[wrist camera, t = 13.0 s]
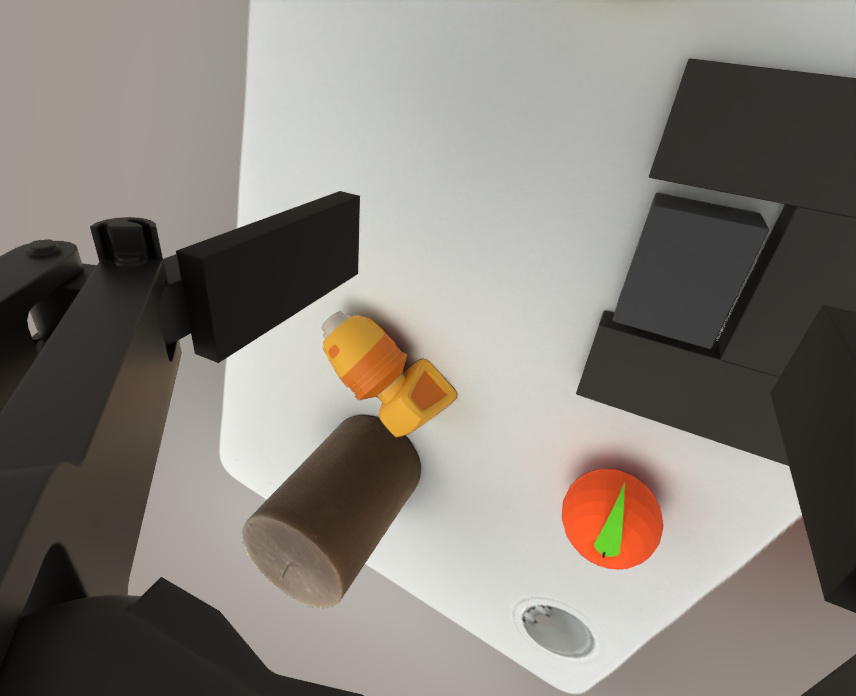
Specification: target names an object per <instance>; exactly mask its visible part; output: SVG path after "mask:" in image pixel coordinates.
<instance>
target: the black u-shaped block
mask: <svg viewBox="0 0 856 696" xmlns="http://www.w3.org/2000/svg"><path fill="white" fill-rule="evenodd" d="M649 178H653V179H659V180H664V181H669V182H674V183H679V184H685V185H690V186H695V187H700V188H705V189H710V190H716V191H721V192H726V193H731V194H736V195H741V196H747V197H752V198H757V199H762V200H767V201H773V202H778V203H783V204H785V206H784V208H783V210H782V212H781V214H780V216H779V218H778V221H777V223H776V225H775V227H774V229H773V231H772V233H771V235H770V237H769V239H768V241H767V243H766V245H765V247H764V249H763V251H762V253H761V255H760V257H759V259H758V261H757V263H756V265H755V267H754V269H753V271H752V273H751V275H750V277H749V279H748V282H747V284H746V286H745V288H744V290H743V292H742V294H741V296H740V298H739V300H738V302H737V304H736V306H735V308H734V310H733V312H732V314H731V316H730V318H729V320H728V322H727V324H726V326H725V328H724V330H723V332H722V334H721V336H720V338H719V340H718V342H716V341H715V342H714V344H713V346H712V348H711V349H709V348H705V347H702V346H698V345H695V344H691V343H688V342H684V341H681V340H677V339H674V338H670V337H667V336H663V335H660V334H656V333H653V332H649V331H646V330H642V329H638V328H635V327H631V326H628V325H624V324H621V323H617V322H614V321H613V316H614V313H612V312H608V311H604V312H603V315H602V318H601V321H600V324H599V327H598V330H597V333H596V336H595V339H594V342H593V345H592V348H591V351H590V354H589V356H588V359H587V362H586V365H585V368H584V371H583V374H582V377H581V380H580V383H579V386H578V389H577V392H576V394H577V395H580V396H583V397H586V398H589V399H591V400H594V401H597V402H600V403H603V404H606V405H609V406H612V407H615V408H618V409H621V410H624V411H627V412H630V413H633V414H636V415H639V416H642V417H645V418H648V419H651V420H654V421H657V422H660V423H663V424H666V425H669V426H672V427H675V428H678V429H681V430H684V431H687V432H690V433H693V434H695V435H698V436H701V437H704V438H707V439H710V440H713V441H716V442H719V443H722V444H725V445H728V446H731V447H734V448H737V449H740V450H743V451H746V452H749V453H752V454H755V455H758V456H761V457H764V458H767V459H770V460H773V461H776V462H779V463H782V464H785V465H788V466H789V463H788V459H787V456H786V452H785V448H784V444H783V440H782V437H781V433H780V429H779V425H778V422H777V418H776V414H775V410H774V406H773V403H772V399H771V395H770V393H771V391H772V389H773V388H774V386H775V384H776V382H777V381H778V379H779V377H780V376H781V374H782V372H783V371H784V369H785V367H786V366H787V364H788V362H789V360H790V359H791V357H792V355H793V354H794V352H795V350H796V349H797V347H798V345H799V344H800V342H801V340H802V338H803V337H804V335H805V333H806V332H807V330H808V328H809V327H810V325H811V323H812V322H813V320H814V318H815V316H816V315H817V313H818V311H819V310H820V308H821V306H822V305H827V306H832V307H836V308H840V309H844V310H849V311H853V312H856V78H849V77H840V76H832V75H823V74H815V73H807V72H798V71H790V70H782V69H773V68H765V67H756V66H748V65H740V64H731V63H723V62H715V61H706V60H698V59H688V62H687V65H686V68H685V71H684V74H683V77H682V80H681V83H680V86H679V89H678V92H677V95H676V98H675V101H674V104H673V106H672V109H671V112H670V115H669V118H668V121H667V124H666V127H665V130H664V133H663V136H662V139H661V142H660V145H659V148H658V151H657V154H656V157H655V160H654V163H653V166H652V169H651V172H650V175H649Z"/></svg>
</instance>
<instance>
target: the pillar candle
mask: <svg viewBox="0 0 856 696" xmlns="http://www.w3.org/2000/svg"><path fill="white" fill-rule="evenodd" d="M420 470H421V465H420V462H419V458H418V455H417V452H416V451H415V450H414V447H413V446H412V444H411V443H410V442H409V440H408V439H407V438H406V437H404V436H399V437H395V436H394V435H393V434H392V433H391V432H390V431H389V430H388V428H387V427H386V426H385V425H384V424H383V422H382V421H381V420H380V419H378V418H375V417H371V416H365V415H358V416H353V417H350V418H348V419H346V420H345V421H343V422H342V423H341V424H340V425H339V426H338V427H337V428H336V429H335V430H334V431H333V433H332V434H331V435H330V436H329V437H328V438H327V439H326V440H325V441H324V442H323V443H322V444H321V445H320V446H319V447H318V448H317V449H316V450H315V451H314V452H313V453H312V454H311V455H310V456H309V457H308V458H307V459H306V460H305V461H304V462H303V463H302V464H301V466H300V467H299V468H298V469H297V470H296V471H295V472H294V473H293V474H292V475H291V476H290V477H289V478H288V479H287V480H286V481H285V482H284V483H283V484H282V485H281V486H280V487H279V488H278V489H277V490H276V491H275V492H274V493H273V494H272V495H271V496H270V497H269V498H268V499H267V500H266V501H265V503H264V504H263V505H262V506H261V507H260V508H259V509H258V510H257V511H256V512H255V513H254V514H253V515H252V516H251V517H250V518H249V519H248V520H247V522H246V523H245V524H244V527H243V531H242V535H243V545H244V547H245V548H246V552H247V554H248V556H249V557H250V558H251V560H252V561H254V563H255V564H256V565H257V567H258V568H259V570H260V571H261V573H263V574H264V575H265V576H266V578H267V579H268V580H269V581H270V582H272V583H273V584H274V585H275V586H277V587H278V588H280V589H281V590H282V591H283V592H284V593H286V594H287V595H289V596H290V597H292V598H294V599H296V600H298V601H299V602H301V603H303V604H304V605H306V606H308V607H313V608H314V607H318V608H320V607H321V608H328V607H333V606H335V605H337V604H338V603H339V602H340V601H341V599H342V598H343V596H344V594H345V593H346V591H347V590H348V589H349V587H350V585H351V584H352V582H353V581H354V579H355V578H356V576H357V575H358V573H359V572H360V570H361V569H362V567H363V566H364V564H365V563H366V561H367V560H368V558H369V557H370V555H371V554H372V552H373V551H374V549H375V548H376V546H377V545H378V543H379V542H380V540H381V538H382V537H383V536H384V534H385V533H386V531H387V530H388V528H389V526H390V525H391V524H392V522H393V521H394V519H395V518H396V516H397V515H398V513H399V512H400V510H401V508H402V507H403V505H404V504H405V502H406V501H407V500H408V498H409V497H410V495H411V494H412V493H413V491H414V490H415V488H416V486H417V484H418V481H419V478H420V472H421V471H420Z"/></svg>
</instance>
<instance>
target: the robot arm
mask: <svg viewBox="0 0 856 696" xmlns="http://www.w3.org/2000/svg"><path fill="white" fill-rule="evenodd" d="M359 214H360V196H358V195H354V194H350V193H346V192H341V191H339V192H336V193H333V194H331V195H328V196H325V197H322V198H320V199H317V200H314V201H311V202H309V203H306V204H303V205H300V206H298V207H295V208H292V209H289V210H287V211H284V212H281V213H278V214H276V215H273V216H270V217H268V218H265V219H262V220H259V221H257V222H254V223H251V224H248V225H246V226H243V227H240V228H237V229H235V230H232V231H229V232H227V233H224V234H221V235H218V236H215V237H213V238H210V239H207V240H204V241H202V242H199V243H196V244H193V245H191V246H188V247H185V248H182V249H180V250H177V251H176V255H173V256H170V257H167V258H165V259H163V258H162V253H161V248H160V243H159V238H158V233H157V228H156V223H154V222H153V221H151V220H148V219H143V218H131V217H127V218H114V219H108V220H103V221H100V222H97V223H95V224H93V225H92V226H90V229H91V233H92V236H93V240H94V243H95V247H96V251H97V254H98V258H99V263H98V265H90V264H82V262H81V259H80V256H79V253H78V249H77V246H76V245H75V244H72V243H70V242H64V241H52V240H38V241H33V242H32V243H29V244H26V245H22V246H20V247H17V248H15V249H13V250H11V251H9V252H7V253H6V254H4V255H2V256H0V696H363V695H362V694H357V693H353V692H349V691H344V690H340V689H336V688H332V687H328V686H324V685H319V684H315V683H311V682H307V681H302V680H298V679H294V678H290V677H285V676H281V675H278V674H275V673H274V672H271V670H269V669H268V668H267V667H266V666H265V665H264V664H263V662H262V661H261V660H260V659H259V657H258V656H257V655H256V654H255V653H254V651H253V650H252V649H251V648H250V647H249V645H248V644H247V643H246V642H245V641H244V640H243V638H242V637H241V636H240V635H239V634H238V633H237V631H236V630H235V629H234V628H233V626H232V625H231V624H230V623H229V622H228V620H227V619H226V618H225V617H224V616H223V614H222V613H221V612H220V611H219V610H217V609H215V608H213V607H212V606H210V605H208V604H207V603H205V602H203V601H202V600H199V599H198V598H196V597H195V596H193V595H191V594H190V593H188V592H186V591H185V590H183V589H181V588H179V587H178V586H176V585H174V584H173V583H171V582H169V581H167V580H166V579H164V578H162V577H161V578H160V579H159V580H158V581H157V582H156V583H154V584H153V585H152V586H151V587H150V588H149V589H148V590H147V591H146V592H145V593H144V594H143V595H142V596H129V595H128V583H129V577H130V573H131V568H132V563H133V559H134V555H135V551H136V547H137V542H138V538H139V534H140V530H141V525H142V521H143V517H144V512H145V508H146V504H147V499H148V495H149V491H150V486H151V482H152V478H153V474H154V470H155V465H156V461H157V457H158V452H159V448H160V444H161V440H162V435H163V431H164V427H165V422H166V418H167V414H168V409H169V405H170V401H171V397H172V392H173V388H174V384H175V379H176V375H177V371H178V367H179V362H180V358H181V353H182V352H181V347H180V342H179V339H181V338H183V337H185V336H187V335H188V334H190V333H191V335H192V340H193V346H194V351H195V354H197V355H199V356H202V357H204V358H207V359H210V360H212V361H215V362H217V363H219V362H221V361H222V360H224V359H226V358H227V357H229V356H230V355H232V354H233V353H235V352H236V351H238V350H240V349H241V348H243V347H244V346H246V345H247V344H249V343H251V342H252V341H254V340H255V339H257V338H258V337H260V336H262V335H263V334H265V333H266V332H268V331H269V330H271V329H272V328H274V327H276V326H277V325H279V324H280V323H282V322H283V321H285V320H287V319H288V318H290V317H291V316H293V315H294V314H296V313H298V312H299V311H301V310H302V309H304V308H305V307H307V306H308V305H310V304H312V303H313V302H315V301H316V300H318V299H319V298H321V297H323V296H324V295H326V294H327V293H329V292H330V291H332V290H334V289H335V288H337V287H338V286H340V285H341V284H343V283H344V282H346V281H348V280H349V279H351V278H352V277H354V276H355V275H357V274H358V256H359ZM29 311H30V313H31V315H32V318H33V321H34V323H35V326H36V328H37V331H38V333H36V334H35V335H34V336H33V337H32V336H31V334H30V331H29V328H28V322H27V318H28V314H29ZM770 395H771V399H772V403H773V406H774V410H775V414H776V418H777V422H778V425H779V429H780V433H781V437H782V440H783V444H784V448H785V452H786V456H787V459H788V463H789V467H790V471H791V474H792V478H793V482H794V486H795V490H796V493H797V497H798V501H799V505H800V509H801V512H802V516H803V520H804V523H805V527H806V531H807V535H808V539H809V542H810V546H811V550H812V554H813V557H814V561H815V565H816V569H817V573H818V577H819V580H820V584H821V587H822V592H823V595H824V599H825V601H827V602H830V603H832V604H834V605H837V606H839V607H842V608H845V609H847V610H850V611H852V612H855V613H856V312H853V311H849V310H844V309H840V308H836V307H832V306H827V305H822V306H821V308H820V310H819V311H818V313H817V315H816V316H815V318H814V320H813V322H812V323H811V325H810V327H809V328H808V330H807V332H806V333H805V335H804V337H803V338H802V340H801V342H800V344H799V345H798V347H797V349H796V350H795V352H794V354H793V355H792V357H791V359H790V360H789V362H788V364H787V366H786V367H785V369H784V371H783V372H782V374H781V376H780V377H779V379H778V381H777V382H776V384H775V386H774V388H773V389H772V391H771V393H770ZM801 696H856V655H854V656H853V657H852V658H850V659H849V660H848V661H846V662H845V663H844V664H842V665H841V666H840V667H838V668H837V669H836V670H834V671H833V672H832V673H830V674H829V675H828V676H826V677H825V678H824V679H822V680H821V681H820V682H818V683H817V684H816V685H814V686H813V687H812V688H810V689H809V690H808V691H807V692H805V693H804V694H802V695H801Z"/></svg>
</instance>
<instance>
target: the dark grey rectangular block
mask: <svg viewBox="0 0 856 696" xmlns="http://www.w3.org/2000/svg"><path fill="white" fill-rule="evenodd" d="M768 231H769V229H768V227H767V225H766V223H765V221H764V220H763V218H762V216H761V214H760V213H755V212H750V211H745V210H740V209H735V208H731V207H726V206H721V205H716V204H711V203H706V202H701V201H696V200H691V199H686V198H681V197H676V196H671V195H666V194H661V193H656V194H655V197H654V200H653V202H652V205H651V208H650V211H649V214H648V217H647V220H646V222H645V225H644V228H643V231H642V234H641V237H640V240H639V243H638V245H637V248H636V251H635V254H634V257H633V260H632V263H631V265H630V268H629V271H628V274H627V277H626V280H625V283H624V286H623V288H622V291H621V294H620V297H619V300H618V303H617V306H616V310H615V313H614V316H613V321H614V322H617V323H621V324H624V325H628V326H631V327H635V328H638V329H642V330H646V331H649V332H653V333H656V334H660V335H663V336H667V337H670V338H674V339H677V340H681V341H684V342H688V343H691V344H695V345H698V346H702V347H705V348H709V349H711V348H712V346H713V344H714V342H715V340H716V338H717V336H718V334H719V332H720V329H721V327H722V325H723V323H724V321H725V319H726V317H727V315H728V313H729V311H730V309H731V307H732V305H733V303H734V301H735V299H736V297H737V295H738V293H739V290H740V288H741V286H742V284H743V282H744V280H745V278H746V276H747V274H748V272H749V270H750V268H751V266H752V264H753V262H754V260H755V258H756V256H757V254H758V251H759V249H760V247H761V245H762V243H763V241H764V239H765V237H766V235H767V233H768Z"/></svg>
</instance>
